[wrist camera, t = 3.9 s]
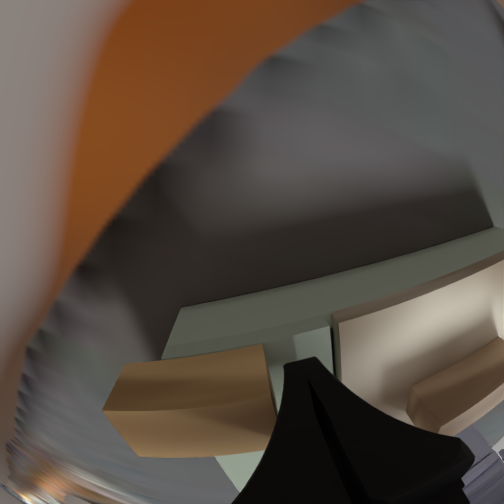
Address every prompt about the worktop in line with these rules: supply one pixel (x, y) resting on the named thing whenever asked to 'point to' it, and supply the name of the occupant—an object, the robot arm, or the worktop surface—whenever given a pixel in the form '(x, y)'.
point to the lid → (429, 348)
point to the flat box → (310, 316)
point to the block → (195, 405)
